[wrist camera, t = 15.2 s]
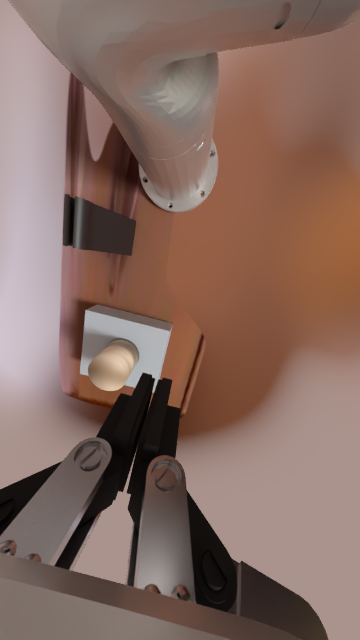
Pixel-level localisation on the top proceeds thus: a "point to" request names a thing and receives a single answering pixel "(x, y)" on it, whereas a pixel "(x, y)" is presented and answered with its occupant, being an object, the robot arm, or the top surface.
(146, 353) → the gray rectangular block
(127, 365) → the beech peg
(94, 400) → the top surface
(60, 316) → the top surface
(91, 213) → the dark grey a-shaped piece
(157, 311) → the top surface
